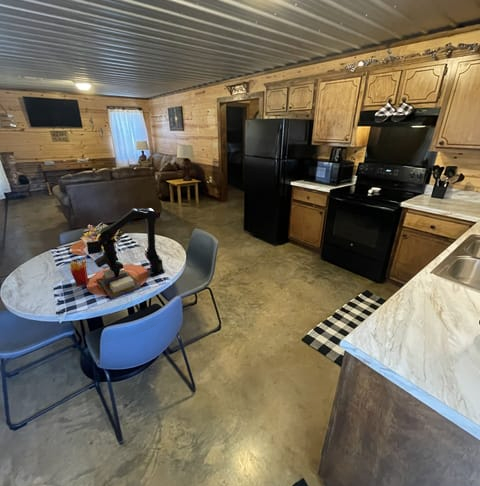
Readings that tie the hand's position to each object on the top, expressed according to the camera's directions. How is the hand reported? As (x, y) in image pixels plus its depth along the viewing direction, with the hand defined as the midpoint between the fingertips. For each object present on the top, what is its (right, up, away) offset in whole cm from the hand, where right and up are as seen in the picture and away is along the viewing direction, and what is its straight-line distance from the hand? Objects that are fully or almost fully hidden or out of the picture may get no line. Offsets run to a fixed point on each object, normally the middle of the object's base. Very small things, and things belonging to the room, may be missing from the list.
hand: (115, 274), depth 151 cm
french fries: (-17, -5, -1) cm, 18 cm away
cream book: (0, +1, 0) cm, 1 cm away
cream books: (+7, -6, -7) cm, 11 cm away
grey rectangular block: (0, -3, +1) cm, 3 cm away
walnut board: (+4, -5, -3) cm, 7 cm away
